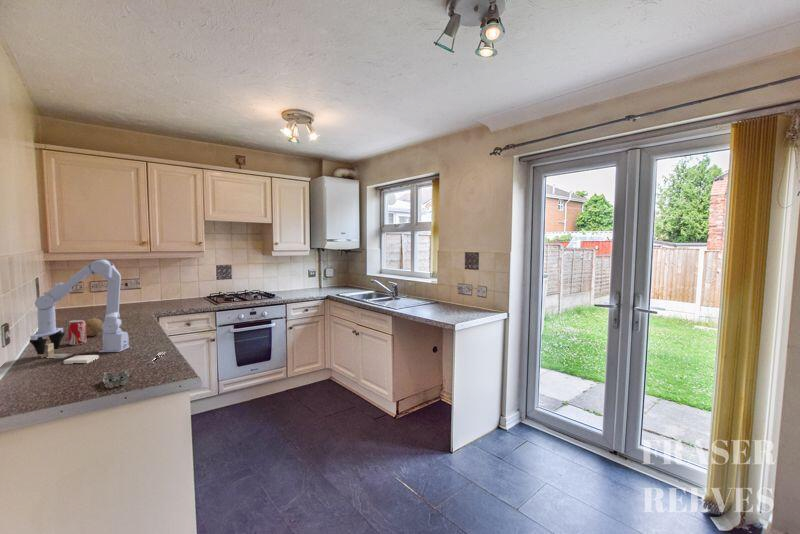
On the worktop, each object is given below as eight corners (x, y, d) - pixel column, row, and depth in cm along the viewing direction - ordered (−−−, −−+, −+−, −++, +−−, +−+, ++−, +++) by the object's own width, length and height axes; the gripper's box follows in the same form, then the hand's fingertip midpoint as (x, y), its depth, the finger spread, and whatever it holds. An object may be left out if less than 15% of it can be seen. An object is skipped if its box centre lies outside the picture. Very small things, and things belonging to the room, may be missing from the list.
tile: (76, 359, 158) (98, 359, 159) (63, 364, 151) (86, 364, 152) (76, 355, 158) (98, 354, 159) (63, 360, 151) (86, 360, 152)
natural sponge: (105, 333, 202) (105, 315, 201) (103, 336, 194) (103, 318, 194) (84, 335, 197) (84, 317, 196) (82, 338, 189) (81, 320, 189)
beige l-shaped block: (72, 354, 163) (72, 342, 163) (63, 358, 158) (63, 345, 158) (48, 355, 162) (48, 342, 161) (38, 358, 157) (38, 345, 157)
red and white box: (75, 346, 176) (74, 322, 175) (64, 345, 177) (63, 321, 177) (90, 342, 183) (89, 319, 182) (79, 341, 184) (78, 318, 183)
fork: (137, 372, 145) (137, 367, 145) (158, 355, 164) (158, 351, 164) (146, 371, 146) (146, 367, 146) (166, 355, 165) (165, 351, 165)
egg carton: (103, 381, 134) (103, 371, 133) (128, 377, 138) (128, 367, 138) (102, 390, 125) (102, 379, 125) (129, 385, 130) (129, 374, 130)
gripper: (50, 318, 165) (52, 347, 166) (21, 325, 151) (23, 356, 152) (67, 318, 166) (68, 346, 167) (40, 325, 152) (41, 356, 153)
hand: (48, 351), depth 159 cm, fingers open, 7 cm apart
